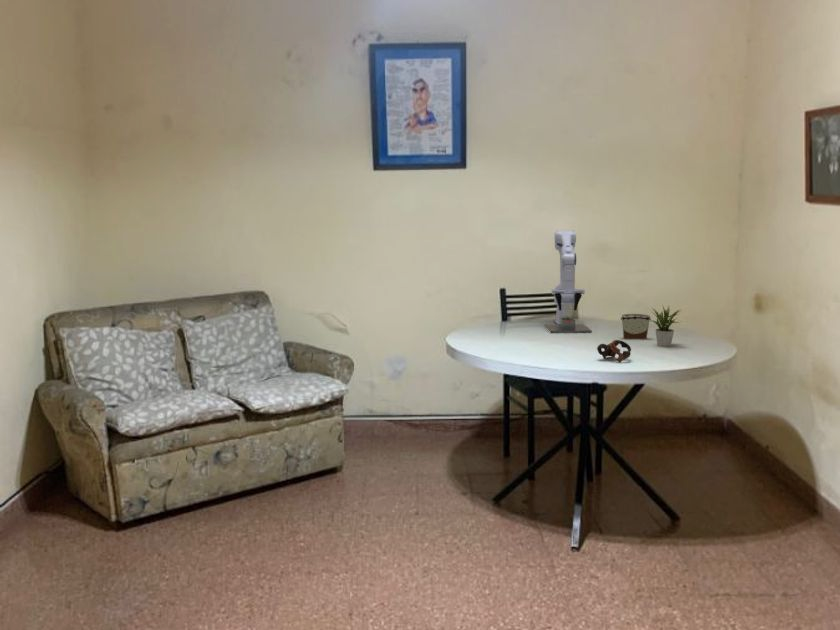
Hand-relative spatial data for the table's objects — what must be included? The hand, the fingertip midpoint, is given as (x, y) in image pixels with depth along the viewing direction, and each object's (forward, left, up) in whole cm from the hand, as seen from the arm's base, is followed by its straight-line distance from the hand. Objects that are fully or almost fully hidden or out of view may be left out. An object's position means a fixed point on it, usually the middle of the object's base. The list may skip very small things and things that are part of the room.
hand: (567, 310), depth 336 cm
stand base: (0, 0, -9) cm, 9 cm away
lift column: (0, 0, -5) cm, 5 cm away
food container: (+22, +24, -9) cm, 34 cm away
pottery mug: (+65, +5, -9) cm, 66 cm away
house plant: (+40, +32, -9) cm, 52 cm away
